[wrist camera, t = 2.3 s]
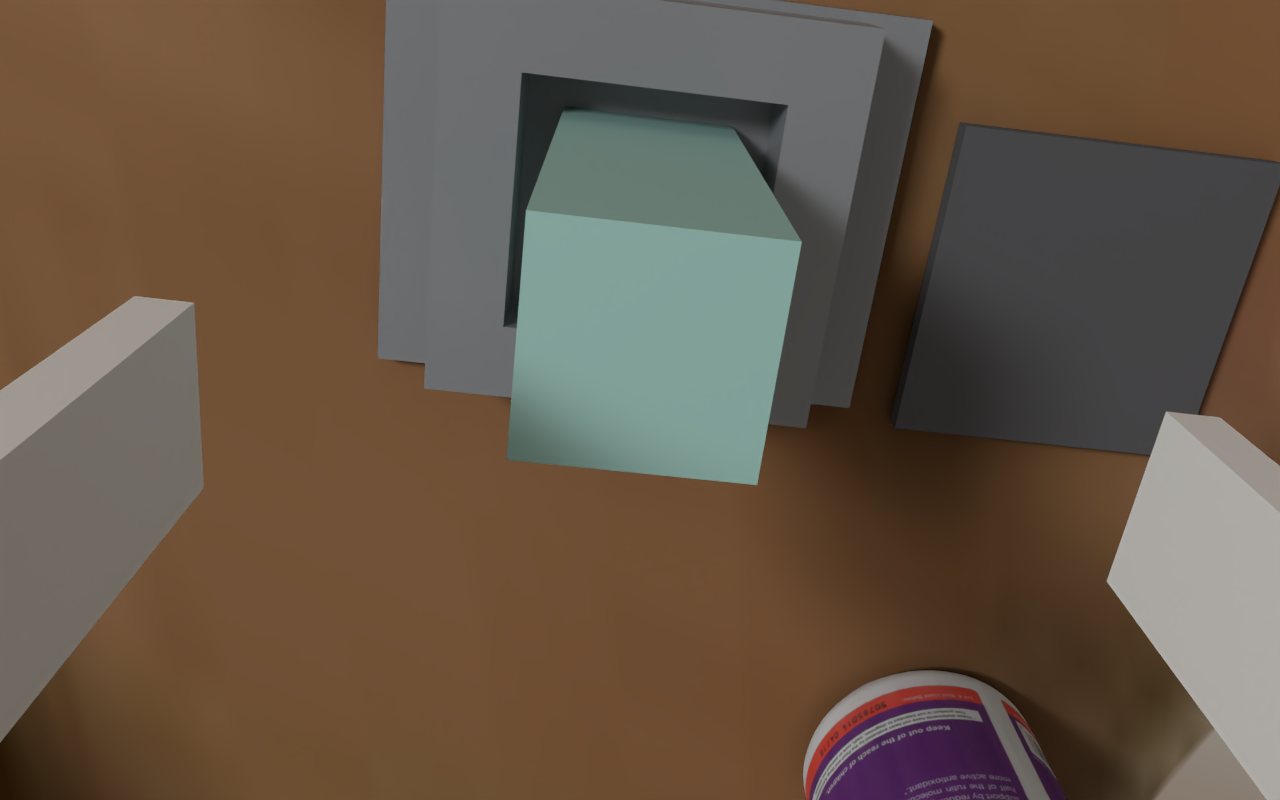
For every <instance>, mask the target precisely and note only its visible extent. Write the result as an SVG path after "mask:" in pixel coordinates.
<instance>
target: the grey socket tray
mask: <svg viewBox="0 0 1280 800" xmlns="http://www.w3.org/2000/svg"><path fill="white" fill-rule="evenodd" d="M932 24H933V21H932V20H928V19H921V18H914V17H906V16H898V15H890V14H882V13H875V12H867V11H859V10H851V9H843V8H836V7H828V6H820V5H812V4H805V3H797V2H789V1H781V0H386V29H385V72H384V115H383V158H382V201H381V243H380V286H379V329H378V358H379V359H389V360H398V361H408V362H417V363H425V381H424V389H434V390H443V391H453V392H462V393H472V394H482V395H491V396H501V397H510V398H511V396H512V383H513V371H514V358H515V345H516V332H517V319H518V307H519V294H520V281H521V268H522V255H523V242H524V230H525V217H526V209H527V206H528V203H529V201H530V198H531V195H532V193H533V190H534V187H535V185H536V182H537V179H538V177H539V174H540V171H541V169H542V166H543V163H544V160H545V158H546V155H547V152H548V150H549V147H550V144H551V142H552V139H553V136H554V134H555V131H556V128H557V125H558V123H559V120H560V117H561V115H562V112H563V109H564V107H565V106H568V107H576V108H585V109H593V110H601V111H609V112H618V113H626V114H634V115H642V116H651V117H659V118H667V119H676V120H684V121H692V122H700V123H709V124H717V125H725V126H732V127H733V128H734V130H735V132H736V133H737V135H738V137H739V138H740V140H741V142H742V143H743V145H744V147H745V148H746V150H747V152H748V153H749V155H750V157H751V158H752V160H753V162H754V163H755V165H756V167H757V168H758V170H759V172H760V173H761V175H762V177H763V178H764V180H765V182H766V183H767V185H768V186H769V188H770V190H771V191H772V193H773V195H774V196H775V198H776V200H777V201H778V203H779V205H780V206H781V208H782V210H783V211H784V213H785V215H786V216H787V218H788V220H789V221H790V223H791V225H792V226H793V228H794V230H795V231H796V233H797V235H798V236H799V238H800V240H801V241H802V243H801V249H800V254H799V260H798V265H797V271H796V276H795V281H794V287H793V292H792V298H791V303H790V309H789V314H788V319H787V325H786V330H785V336H784V341H783V347H782V352H781V357H780V363H779V368H778V374H777V379H776V384H775V390H774V395H773V401H772V406H771V412H770V417H769V422H768V424H770V425H780V426H789V427H799V428H806V426H807V421H808V416H809V411H810V406H811V404H816V405H825V406H835V407H844V408H850V403H851V398H852V394H853V389H854V384H855V380H856V375H857V371H858V366H859V361H860V357H861V352H862V347H863V343H864V338H865V334H866V329H867V324H868V320H869V315H870V310H871V306H872V301H873V297H874V292H875V287H876V283H877V278H878V273H879V269H880V264H881V260H882V255H883V250H884V246H885V241H886V237H887V232H888V227H889V223H890V218H891V213H892V209H893V204H894V200H895V195H896V190H897V186H898V181H899V176H900V172H901V167H902V163H903V158H904V153H905V149H906V144H907V139H908V135H909V130H910V126H911V121H912V116H913V112H914V107H915V102H916V98H917V93H918V89H919V84H920V79H921V75H922V70H923V65H924V61H925V56H926V52H927V47H928V42H929V38H930V33H931V29H932Z"/></svg>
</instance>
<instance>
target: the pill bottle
mask: <svg viewBox="0 0 1280 800" xmlns="http://www.w3.org/2000/svg"><path fill="white" fill-rule="evenodd" d="M803 781H804V789H805V794H806V799H807V800H1067V798H1066V796H1065V794H1064V792H1063V790H1062V789H1061V787H1060V785H1059V783H1058V781H1057V779H1056V777H1055V775H1054V773H1053V771H1052V770H1051V768H1050V766H1049V764H1048V762H1047V760H1046V758H1045V756H1044V754H1043V752H1042V750H1041V748H1040V746H1039V744H1038V742H1037V740H1036V738H1035V736H1034V734H1033V732H1032V731H1031V729H1030V728H1029V726H1028V724H1027V722H1026V720H1025V719H1024V718H1023V716H1022V715H1021V713H1020V712H1019V711H1018V709H1017V708H1016V707H1015V706H1014V705H1013V704H1012V703H1011V702H1010V701H1009V700H1008V699H1007V698H1006V697H1005V696H1003V695H1002V694H1001V693H1000V692H998V691H997V690H996V689H994V688H992V687H991V686H989V685H987V684H985V683H983V682H981V681H979V680H977V679H974V678H971V677H969V676H965V675H962V674H957V673H952V672H946V671H935V670H920V671H908V672H903V673H898V674H893V675H890V676H886V677H883V678H880V679H877V680H874V681H871V682H869V683H867V684H865V685H863V686H861V687H859V688H858V689H856V690H855V691H853V692H852V693H850V694H849V695H847V696H846V697H845V698H844V699H842V700H841V701H840V702H839V703H837V704H836V705H835V706H834V707H833V708H832V709H831V710H830V711H829V712H828V713H827V715H826V716H825V717H824V718H823V720H822V721H821V723H820V724H819V726H818V727H817V729H816V731H815V733H814V735H813V737H812V739H811V741H810V744H809V747H808V750H807V753H806V756H805V761H804V769H803Z"/></svg>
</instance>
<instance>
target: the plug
mask: <svg viewBox="0 0 1280 800" xmlns="http://www.w3.org/2000/svg"><path fill="white" fill-rule="evenodd" d="M801 243H802V241H801V240H800V238H799V236H798V235H797V233H796V231H795V230H794V228H793V226H792V225H791V223H790V221H789V220H788V218H787V216H786V215H785V213H784V211H783V210H782V208H781V206H780V205H779V203H778V201H777V200H776V198H775V196H774V195H773V193H772V191H771V190H770V188H769V186H768V185H767V183H766V182H765V180H764V178H763V177H762V175H761V173H760V172H759V170H758V168H757V167H756V165H755V163H754V162H753V160H752V158H751V157H750V155H749V153H748V152H747V150H746V148H745V147H744V145H743V143H742V142H741V140H740V138H739V137H738V135H737V133H736V132H735V130H734V128H733V127H732V126H725V125H717V124H709V123H700V122H692V121H684V120H676V119H667V118H659V117H651V116H642V115H634V114H626V113H618V112H609V111H601V110H593V109H585V108H576V107H568V106H565V107H564V109H563V112H562V115H561V117H560V120H559V123H558V125H557V128H556V131H555V134H554V136H553V139H552V142H551V144H550V147H549V150H548V152H547V155H546V158H545V160H544V163H543V166H542V169H541V171H540V174H539V177H538V179H537V182H536V185H535V187H534V190H533V193H532V195H531V198H530V201H529V203H528V206H527V209H526V217H525V230H524V242H523V255H522V268H521V281H520V294H519V307H518V319H517V332H516V345H515V358H514V371H513V383H512V396H511V409H510V422H509V435H508V448H507V460H513V461H523V462H533V463H543V464H553V465H563V466H573V467H583V468H593V469H603V470H613V471H623V472H633V473H643V474H653V475H663V476H673V477H683V478H693V479H703V480H713V481H722V482H732V483H742V484H752V485H757V482H758V477H759V471H760V466H761V460H762V455H763V450H764V444H765V439H766V433H767V428H768V422H769V417H770V412H771V406H772V401H773V395H774V390H775V384H776V379H777V374H778V368H779V363H780V357H781V352H782V347H783V341H784V336H785V330H786V325H787V319H788V314H789V309H790V303H791V298H792V292H793V287H794V281H795V276H796V271H797V265H798V260H799V254H800V249H801Z"/></svg>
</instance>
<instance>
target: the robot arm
mask: <svg viewBox="0 0 1280 800" xmlns="http://www.w3.org/2000/svg"><path fill="white" fill-rule="evenodd" d="M203 488H204V485H203V466H202V446H201V427H200V407H199V388H198V368H197V349H196V329H195V310H194V303H192V302H183V301H174V300H165V299H156V298H147V297H138V296H134V297H133V298H131V299H130V300H128V301H127V302H126V303H124V304H123V305H121V306H120V307H119V308H117V309H116V310H114V311H113V312H111V313H110V314H109V315H107V316H106V317H104V318H103V319H101V320H100V321H99V322H97V323H96V324H94V325H93V326H91V327H90V328H89V329H87V330H86V331H84V332H83V333H82V334H80V335H79V336H77V337H76V338H74V339H73V340H72V341H70V342H69V343H67V344H66V345H64V346H63V347H62V348H60V349H59V350H57V351H56V352H54V353H53V354H52V355H50V356H49V357H47V358H46V359H44V360H43V361H42V362H40V363H39V364H37V365H36V366H35V367H33V368H32V369H30V370H29V371H27V372H26V373H25V374H23V375H22V376H20V377H19V378H17V379H16V380H15V381H13V382H12V383H10V384H9V385H7V386H6V387H5V388H3V389H2V390H0V742H1V741H2V740H3V739H4V737H5V736H6V735H7V734H8V732H9V731H10V730H11V729H12V727H13V726H14V725H15V724H16V722H17V721H18V720H19V719H20V717H21V716H22V715H23V714H24V712H25V711H26V710H27V709H28V707H29V706H30V705H31V704H32V702H33V701H34V700H35V698H36V697H37V696H38V695H39V693H40V692H41V691H42V690H43V688H44V687H45V686H46V685H47V683H48V682H49V681H50V680H51V678H52V677H53V676H54V675H55V673H56V672H57V671H58V670H59V668H60V667H61V666H62V665H63V663H64V662H65V661H66V660H67V658H68V657H69V656H70V655H71V653H72V652H73V651H74V650H75V648H76V647H77V646H78V645H79V643H80V642H81V641H82V640H83V638H84V637H85V636H86V635H87V633H88V632H89V631H90V630H91V628H92V627H93V626H94V625H95V623H96V622H97V621H98V620H99V618H100V617H101V616H102V615H103V613H104V612H105V611H106V609H107V608H108V607H109V606H110V604H111V603H112V602H113V601H114V599H115V598H116V597H117V596H118V594H119V593H120V592H121V591H122V589H123V588H124V587H125V586H126V584H127V583H128V582H129V581H130V579H131V578H132V577H133V576H134V574H135V573H136V572H137V571H138V569H139V568H140V567H141V566H142V564H143V563H144V562H145V561H146V559H147V558H148V557H149V556H150V554H151V553H152V552H153V551H154V549H155V548H156V547H157V546H158V544H159V543H160V542H161V541H162V539H163V538H164V537H165V536H166V534H167V533H168V532H169V531H170V529H171V528H172V527H173V525H174V524H175V523H176V522H177V520H178V519H179V518H180V517H181V515H182V514H183V513H184V512H185V510H186V509H187V508H188V507H189V505H190V504H191V503H192V502H193V500H194V499H195V498H196V497H197V495H198V494H199V493H200V492H201V490H202V489H203ZM1107 582H1108V584H1109V585H1110V586H1111V588H1112V589H1113V591H1114V592H1115V593H1116V595H1117V596H1118V597H1119V599H1120V600H1121V601H1122V603H1123V604H1124V606H1125V607H1126V608H1127V610H1128V611H1129V612H1130V614H1131V615H1132V616H1133V618H1134V619H1135V621H1136V622H1137V623H1138V625H1139V626H1140V627H1141V629H1142V630H1143V632H1144V633H1145V634H1146V636H1147V637H1148V638H1149V640H1150V641H1151V642H1152V644H1153V645H1154V647H1155V648H1156V649H1157V651H1158V652H1159V653H1160V655H1161V656H1162V658H1163V659H1164V660H1165V662H1166V663H1167V664H1168V666H1169V667H1170V668H1171V670H1172V671H1173V673H1174V674H1175V675H1176V677H1177V678H1178V679H1179V681H1180V682H1181V683H1182V685H1183V686H1184V688H1185V689H1186V690H1187V692H1188V693H1189V694H1190V696H1191V697H1192V699H1193V700H1194V701H1195V703H1196V704H1197V705H1198V707H1199V708H1200V709H1201V711H1202V712H1203V714H1204V715H1205V716H1206V718H1207V719H1208V720H1209V722H1210V723H1211V725H1212V726H1213V727H1214V729H1215V730H1216V731H1217V733H1218V734H1219V735H1220V737H1221V738H1222V739H1223V741H1224V742H1225V744H1226V745H1227V746H1228V748H1229V749H1230V750H1231V752H1232V753H1233V754H1234V756H1235V757H1236V759H1237V760H1238V761H1239V763H1240V764H1241V766H1242V767H1243V768H1244V769H1245V771H1246V772H1247V774H1248V775H1249V776H1250V778H1251V779H1252V780H1253V782H1254V783H1255V785H1256V786H1257V787H1258V789H1259V790H1260V792H1261V793H1262V794H1263V796H1264V797H1265V798H1266V800H1280V466H1279V465H1277V464H1276V463H1275V462H1274V461H1273V460H1271V459H1270V458H1269V457H1268V456H1266V455H1265V454H1264V453H1263V452H1262V451H1260V450H1259V449H1258V448H1257V447H1255V446H1254V445H1253V444H1252V443H1251V442H1249V441H1248V440H1247V439H1246V438H1244V437H1243V436H1242V435H1241V434H1240V433H1238V432H1237V431H1236V430H1235V429H1234V428H1232V427H1231V426H1230V425H1229V424H1227V423H1226V422H1225V421H1224V420H1223V419H1221V418H1220V417H1211V416H1202V415H1193V414H1184V413H1175V412H1166V413H1165V416H1164V419H1163V422H1162V424H1161V427H1160V430H1159V433H1158V436H1157V439H1156V442H1155V444H1154V447H1153V450H1152V453H1151V456H1150V459H1149V462H1148V464H1147V467H1146V470H1145V473H1144V476H1143V479H1142V482H1141V484H1140V487H1139V490H1138V493H1137V496H1136V499H1135V502H1134V504H1133V507H1132V510H1131V513H1130V516H1129V519H1128V522H1127V524H1126V527H1125V530H1124V533H1123V536H1122V539H1121V542H1120V545H1119V547H1118V550H1117V553H1116V556H1115V559H1114V562H1113V565H1112V567H1111V570H1110V573H1109V576H1108V579H1107Z"/></svg>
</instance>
